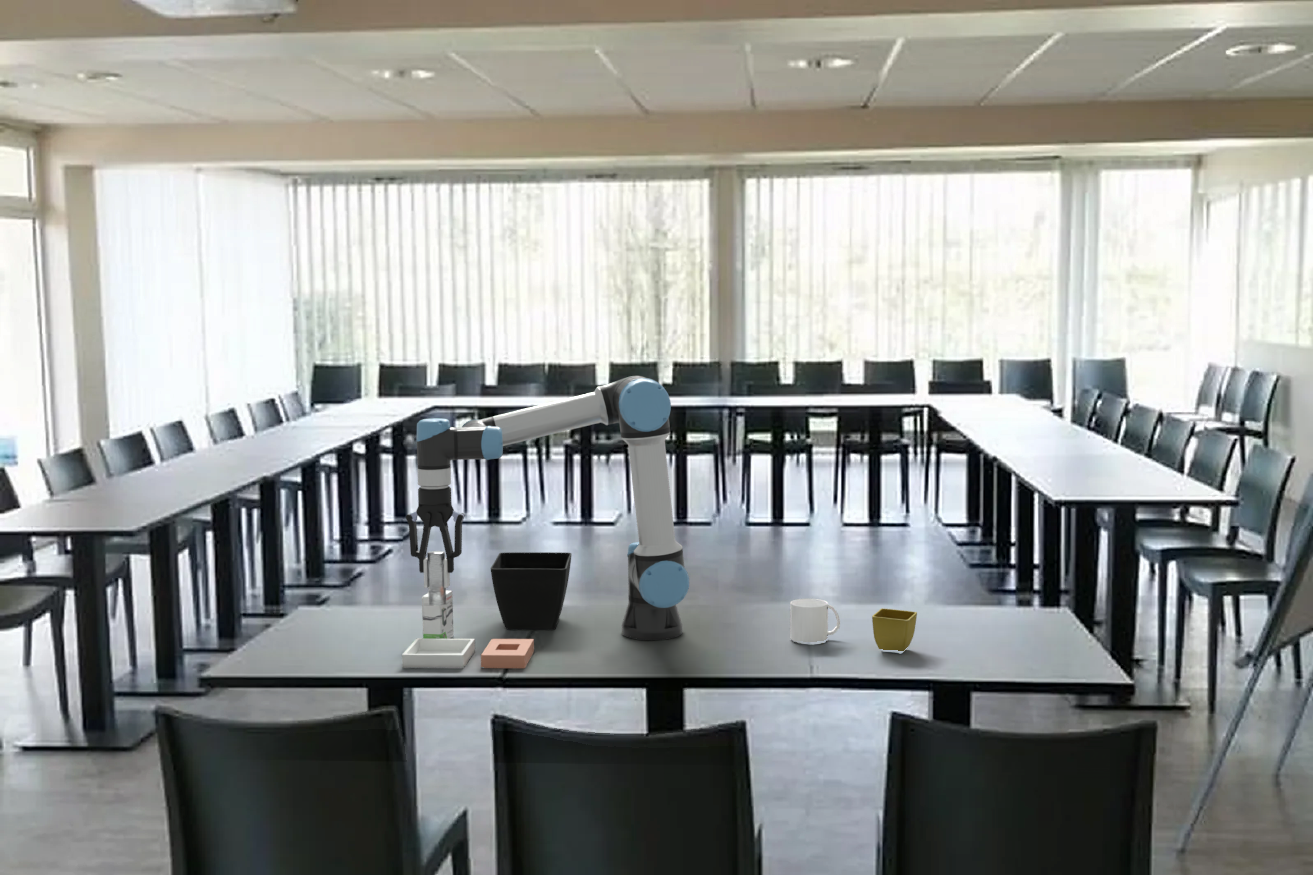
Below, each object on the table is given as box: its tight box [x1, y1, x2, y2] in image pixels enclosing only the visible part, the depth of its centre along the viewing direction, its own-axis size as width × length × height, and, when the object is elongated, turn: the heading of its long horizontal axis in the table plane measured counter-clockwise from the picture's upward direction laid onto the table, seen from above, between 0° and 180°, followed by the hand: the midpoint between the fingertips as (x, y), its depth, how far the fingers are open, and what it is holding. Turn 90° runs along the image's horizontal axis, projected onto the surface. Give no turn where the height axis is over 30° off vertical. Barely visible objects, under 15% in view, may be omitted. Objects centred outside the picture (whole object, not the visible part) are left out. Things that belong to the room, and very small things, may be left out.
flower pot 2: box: [871, 608, 918, 652], centre depth 316 cm, size 9×9×9 cm
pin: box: [426, 550, 447, 606], centre depth 311 cm, size 4×4×12 cm
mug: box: [789, 598, 841, 642], centre depth 326 cm, size 12×9×9 cm
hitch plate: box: [480, 638, 535, 669], centre depth 312 cm, size 10×14×3 cm
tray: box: [401, 637, 476, 669], centre depth 313 cm, size 14×14×3 cm
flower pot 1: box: [490, 551, 573, 631], centre depth 344 cm, size 19×19×17 cm
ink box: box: [421, 589, 454, 639], centre depth 329 cm, size 9×5×12 cm, turn 167°
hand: (437, 586), depth 311 cm, fingers closed on pin, 4 cm apart
